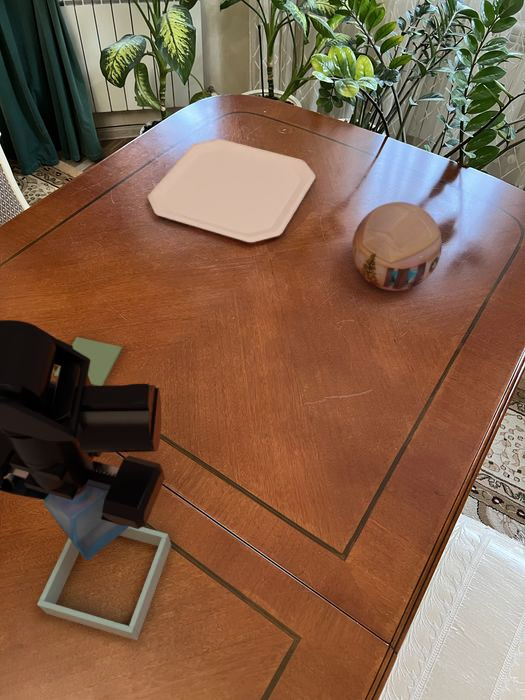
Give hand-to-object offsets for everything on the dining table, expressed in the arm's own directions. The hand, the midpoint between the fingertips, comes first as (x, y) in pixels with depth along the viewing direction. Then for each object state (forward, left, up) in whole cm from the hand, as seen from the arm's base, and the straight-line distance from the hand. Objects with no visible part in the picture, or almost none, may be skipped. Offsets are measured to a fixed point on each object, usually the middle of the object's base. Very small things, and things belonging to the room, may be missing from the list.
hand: (84, 506), depth 63 cm
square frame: (+2, -4, -13) cm, 13 cm away
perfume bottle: (0, 0, -5) cm, 5 cm away
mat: (-15, +26, -13) cm, 33 cm away
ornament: (+29, +58, -13) cm, 67 cm away
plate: (-5, +74, -13) cm, 76 cm away
